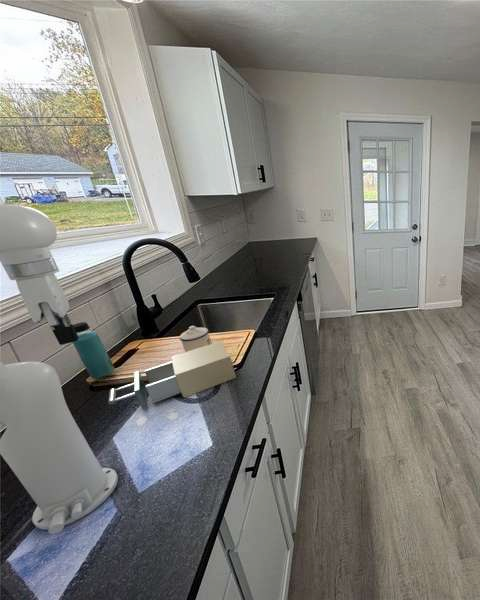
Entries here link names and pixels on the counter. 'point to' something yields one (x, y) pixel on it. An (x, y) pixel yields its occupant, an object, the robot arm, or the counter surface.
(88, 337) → the beverage bottle
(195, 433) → the counter surface
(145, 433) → the counter surface
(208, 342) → the teacup with lid
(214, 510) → the counter surface
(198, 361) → the drawer cabinet
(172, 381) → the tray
